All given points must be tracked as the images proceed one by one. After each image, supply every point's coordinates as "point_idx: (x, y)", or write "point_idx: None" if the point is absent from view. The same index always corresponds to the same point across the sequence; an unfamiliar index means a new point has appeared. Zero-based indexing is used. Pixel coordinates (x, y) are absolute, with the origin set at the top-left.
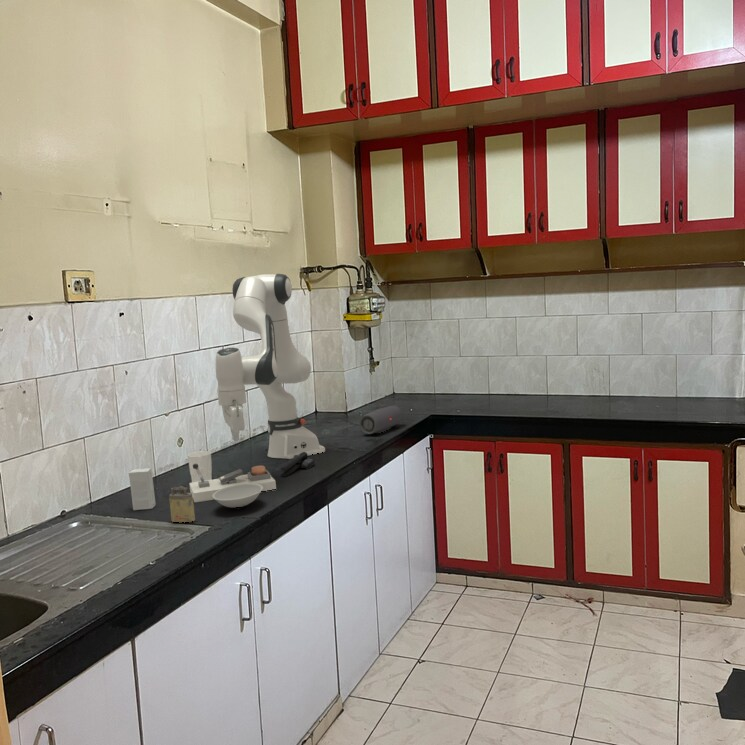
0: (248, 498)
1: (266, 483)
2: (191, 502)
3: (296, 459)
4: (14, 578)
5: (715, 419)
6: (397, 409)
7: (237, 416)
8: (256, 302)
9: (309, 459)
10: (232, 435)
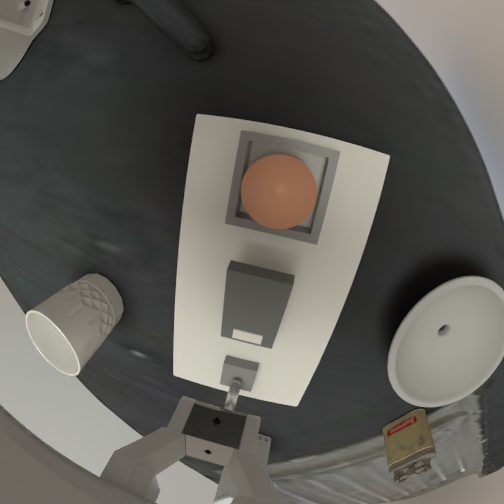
0: (502, 338)
1: (378, 194)
2: (433, 441)
3: None
4: (390, 500)
5: None
6: None
7: (7, 493)
8: None
9: None
10: (195, 455)
